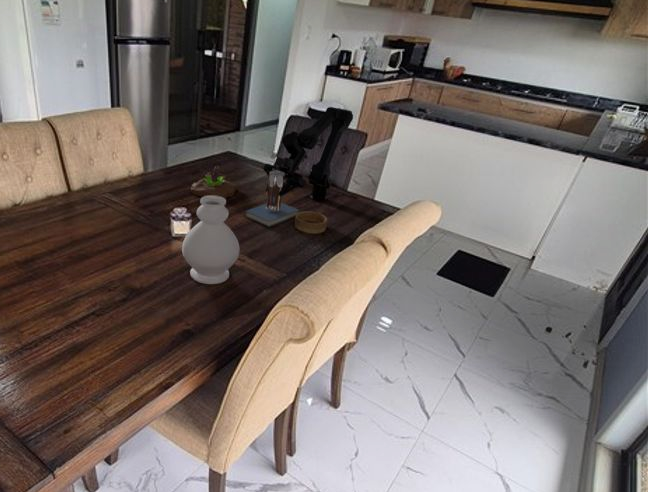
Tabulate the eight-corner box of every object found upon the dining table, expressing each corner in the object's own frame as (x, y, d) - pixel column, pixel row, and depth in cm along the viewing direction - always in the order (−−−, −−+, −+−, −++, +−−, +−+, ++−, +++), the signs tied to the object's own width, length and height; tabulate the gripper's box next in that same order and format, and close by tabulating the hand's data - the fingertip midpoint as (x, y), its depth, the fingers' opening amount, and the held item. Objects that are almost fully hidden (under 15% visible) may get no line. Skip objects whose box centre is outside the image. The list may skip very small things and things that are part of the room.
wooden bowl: (288, 222, 185) (290, 213, 183) (314, 218, 190) (315, 209, 187) (305, 235, 176) (307, 225, 173) (331, 231, 181) (333, 221, 178)
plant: (242, 188, 214) (244, 165, 208) (225, 202, 199) (226, 176, 193) (204, 180, 220) (205, 157, 214) (184, 192, 205) (185, 168, 199)
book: (274, 205, 199) (275, 200, 198) (298, 215, 192) (299, 209, 190) (245, 216, 187) (245, 210, 186) (269, 227, 180) (270, 221, 179)
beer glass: (285, 208, 189) (289, 173, 180) (276, 213, 184) (280, 177, 176) (270, 204, 192) (274, 169, 184) (261, 209, 187) (265, 173, 179)
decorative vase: (195, 293, 137) (197, 216, 123) (173, 266, 150) (173, 192, 136) (247, 282, 144) (254, 207, 130) (222, 256, 157) (226, 186, 143)
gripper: (268, 143, 182) (247, 175, 182) (306, 154, 172) (284, 189, 171) (278, 159, 192) (258, 190, 191) (314, 171, 181) (294, 204, 181)
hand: (273, 193), depth 183 cm, fingers closed on beer glass, 6 cm apart
